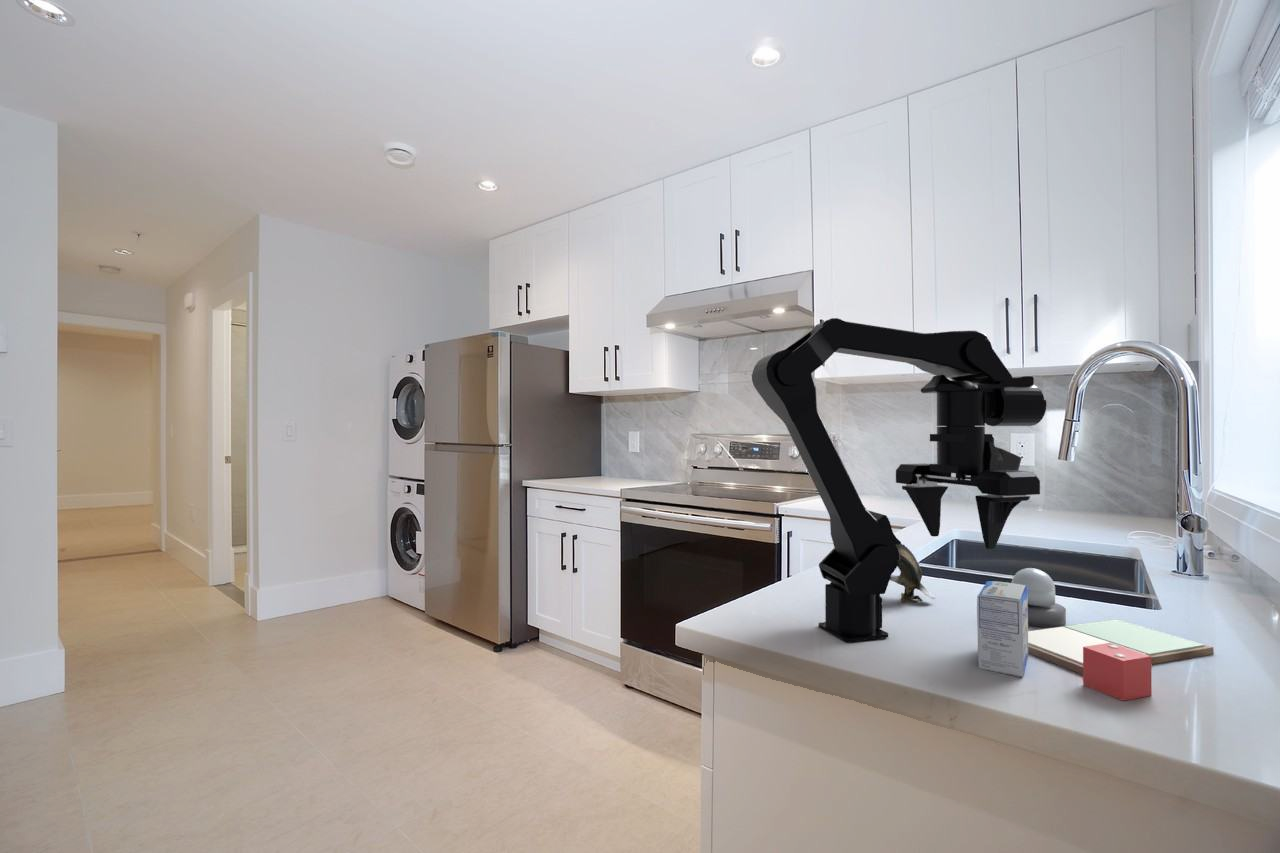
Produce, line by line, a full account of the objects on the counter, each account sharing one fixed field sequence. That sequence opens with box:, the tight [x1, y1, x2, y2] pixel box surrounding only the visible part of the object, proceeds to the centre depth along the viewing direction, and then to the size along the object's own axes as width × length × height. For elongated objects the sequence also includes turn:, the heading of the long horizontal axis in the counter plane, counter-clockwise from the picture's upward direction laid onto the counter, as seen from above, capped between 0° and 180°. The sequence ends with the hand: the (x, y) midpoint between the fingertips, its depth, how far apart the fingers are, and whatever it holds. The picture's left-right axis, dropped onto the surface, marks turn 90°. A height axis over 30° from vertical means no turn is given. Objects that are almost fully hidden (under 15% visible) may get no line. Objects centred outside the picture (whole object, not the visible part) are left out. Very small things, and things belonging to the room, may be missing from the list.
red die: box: [1082, 643, 1153, 701], centre depth 62 cm, size 4×4×4 cm
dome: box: [1011, 567, 1056, 606], centre depth 85 cm, size 5×5×5 cm
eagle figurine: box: [889, 543, 936, 604], centre depth 93 cm, size 8×7×9 cm
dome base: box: [1028, 602, 1067, 629], centre depth 85 cm, size 8×8×2 cm
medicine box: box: [976, 580, 1029, 678], centre depth 69 cm, size 8×4×9 cm, turn 143°
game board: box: [1028, 618, 1215, 675], centre depth 73 cm, size 21×11×1 cm, turn 107°
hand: (961, 542), depth 80 cm, fingers open, 9 cm apart
